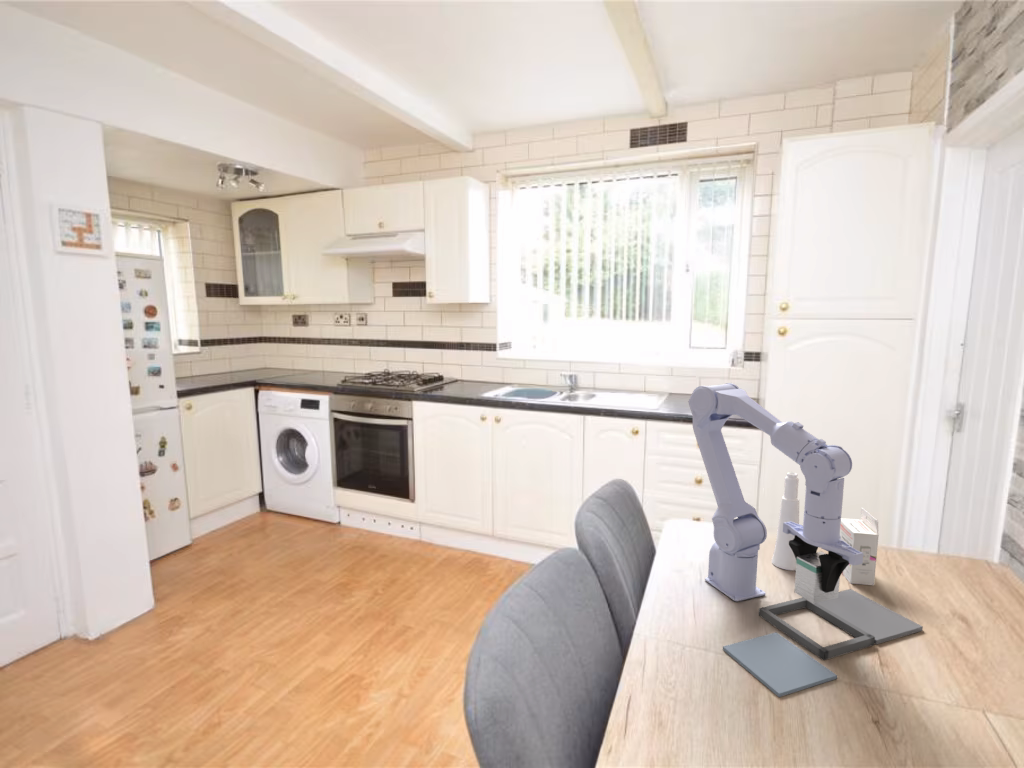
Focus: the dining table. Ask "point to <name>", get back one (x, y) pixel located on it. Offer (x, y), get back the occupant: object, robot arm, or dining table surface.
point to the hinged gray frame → (844, 622)
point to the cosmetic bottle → (788, 512)
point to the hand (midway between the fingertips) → (816, 584)
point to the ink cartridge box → (861, 547)
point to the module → (812, 579)
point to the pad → (779, 664)
